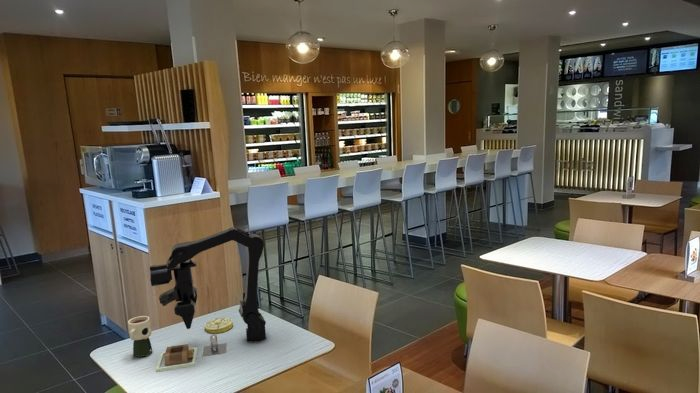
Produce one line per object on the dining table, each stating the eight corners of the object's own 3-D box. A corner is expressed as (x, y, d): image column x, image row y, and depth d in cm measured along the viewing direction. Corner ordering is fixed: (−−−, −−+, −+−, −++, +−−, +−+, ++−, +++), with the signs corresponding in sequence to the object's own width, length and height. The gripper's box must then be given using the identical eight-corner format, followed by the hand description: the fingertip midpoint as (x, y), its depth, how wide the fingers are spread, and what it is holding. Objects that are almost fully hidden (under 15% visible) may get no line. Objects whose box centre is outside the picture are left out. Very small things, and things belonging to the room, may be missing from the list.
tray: (197, 351, 168) (197, 347, 167) (194, 368, 156) (194, 363, 156) (161, 357, 165) (161, 352, 165) (156, 374, 153) (155, 369, 153)
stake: (226, 345, 172) (225, 330, 171) (226, 355, 164) (224, 339, 163) (203, 348, 170) (202, 333, 169) (202, 358, 162) (200, 342, 161)
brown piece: (168, 357, 163) (167, 347, 162) (194, 353, 165) (192, 343, 164) (165, 367, 156) (164, 356, 156) (192, 363, 158) (191, 352, 158)
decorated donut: (219, 323, 193) (218, 314, 192) (238, 327, 187) (237, 318, 186) (199, 333, 184) (198, 323, 183) (218, 338, 178) (217, 328, 178)
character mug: (144, 361, 162) (140, 326, 161) (125, 361, 163) (120, 326, 161) (160, 347, 173) (156, 313, 171) (141, 347, 174) (137, 313, 172)
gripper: (162, 276, 169) (168, 317, 171) (154, 293, 151) (161, 339, 153) (194, 271, 172) (200, 312, 174) (191, 287, 154) (197, 332, 156)
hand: (189, 323), depth 164 cm, fingers open, 9 cm apart
